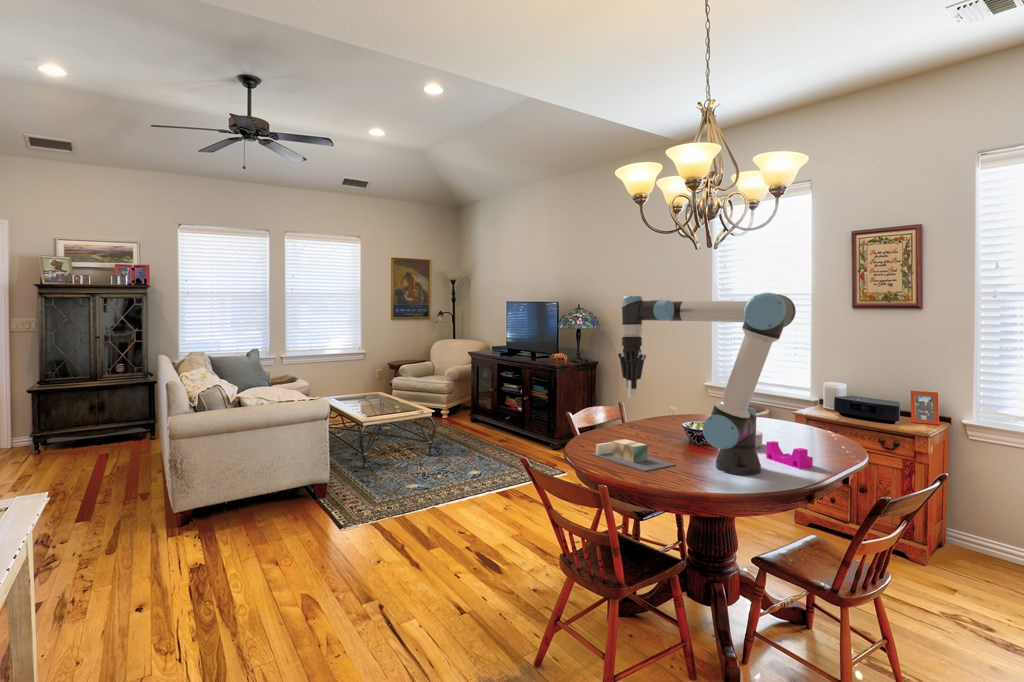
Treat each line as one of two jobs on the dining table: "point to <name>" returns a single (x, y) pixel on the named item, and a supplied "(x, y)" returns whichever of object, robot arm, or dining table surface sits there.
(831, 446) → the dining table surface
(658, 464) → the gray ramp
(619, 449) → the beech block
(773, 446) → the toy block
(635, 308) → the robot arm
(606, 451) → the stop rail
